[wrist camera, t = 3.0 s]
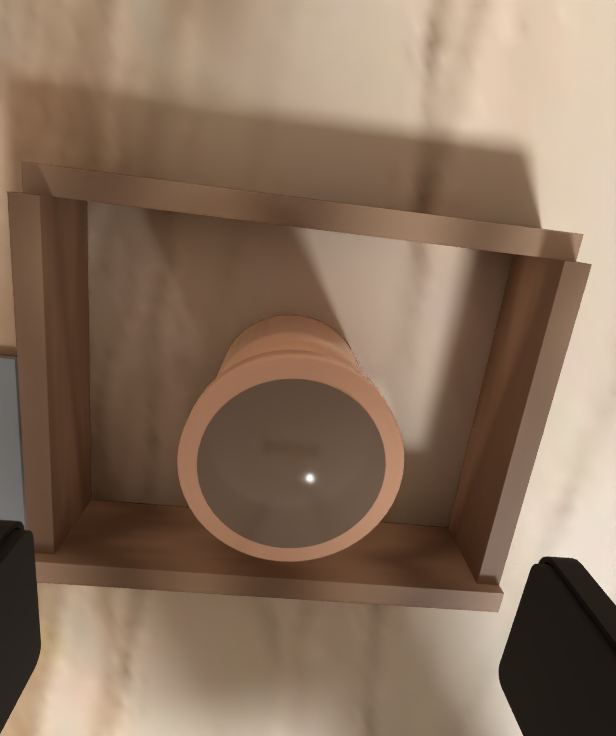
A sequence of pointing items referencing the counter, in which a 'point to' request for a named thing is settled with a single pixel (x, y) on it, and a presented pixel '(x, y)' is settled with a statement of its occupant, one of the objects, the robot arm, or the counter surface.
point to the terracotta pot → (290, 445)
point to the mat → (11, 444)
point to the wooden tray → (179, 524)
